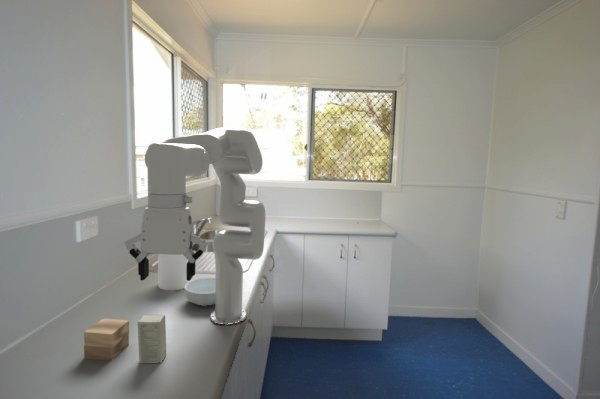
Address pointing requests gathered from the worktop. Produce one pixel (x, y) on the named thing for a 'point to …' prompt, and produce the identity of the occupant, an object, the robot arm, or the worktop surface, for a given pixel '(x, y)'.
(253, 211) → the robot arm
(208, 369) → the worktop surface
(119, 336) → the oak top block
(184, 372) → the worktop surface
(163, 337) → the skincare box
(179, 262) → the canister
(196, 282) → the cereal bowl
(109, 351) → the walnut base block
